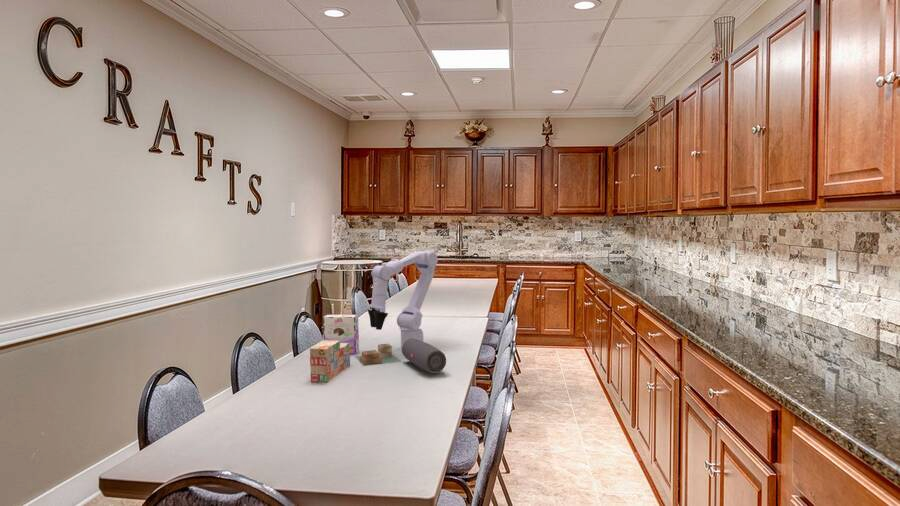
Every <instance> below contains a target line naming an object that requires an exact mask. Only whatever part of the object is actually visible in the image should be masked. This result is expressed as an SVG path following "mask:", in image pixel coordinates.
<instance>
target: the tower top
mask: <svg viewBox="0 0 900 506" xmlns="http://www.w3.org/2000/svg"><path fill="white" fill-rule="evenodd" d="M361 355H362V357H363V358H364V359H365V360H367V359H376V358H379V353H378V350H376V349H375V350H374V349H373V350H372V349H371V350H365V351H364V350H363V351H361Z"/></svg>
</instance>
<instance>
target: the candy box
mask: <svg viewBox="0 0 900 506" xmlns="http://www.w3.org/2000/svg"><path fill="white" fill-rule="evenodd" d="M322 323H323V341H324V340H330V341H340V343H349V351H350V356H352V355H353V356H357V355H358V354H359V352H360V334H359V332H360V331H359V329H360V328H359V314H326V315H323V317H322Z"/></svg>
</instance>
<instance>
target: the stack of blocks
mask: <svg viewBox="0 0 900 506" xmlns="http://www.w3.org/2000/svg"><path fill="white" fill-rule="evenodd" d="M309 355H310V356H309V361H310V362H309V367H310V382H311V383H322V382H326V383H329V382H330V380H332V379H333V378H334V377H336V376H338V374H340V373H341V372H343V371H344V370H346V369H347V368H349V367H350V366H351V355H350V351H349V343H340V341H330V340H324V339H323V341H321V342H319V343H318V344H315V345H314V346H311V347H310V348H309ZM328 381H329V382H328Z"/></svg>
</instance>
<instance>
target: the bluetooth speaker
mask: <svg viewBox="0 0 900 506" xmlns="http://www.w3.org/2000/svg"><path fill="white" fill-rule="evenodd" d="M423 341H424V340H423ZM423 341H421V340H418V339H408V340H406V341H405V343H404V344H403V346H402V351H401V353H402V355H403V357H404V358H405V359H406V360H408V361H409V362H411V363H412V364H413V365H414V366H415V367H416V368H418V369H419V370H421V371H422V372H423V371H424V373H433V374H438V373H440V372H442V371H443V370H444V368H445V367H446V366H447V358H446V355H445V353H444V352H443V351H441V350H440V349H439V348H437V347H435V346H434V345H432V344H430V343H428V342H425V341H424V342H423Z"/></svg>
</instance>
